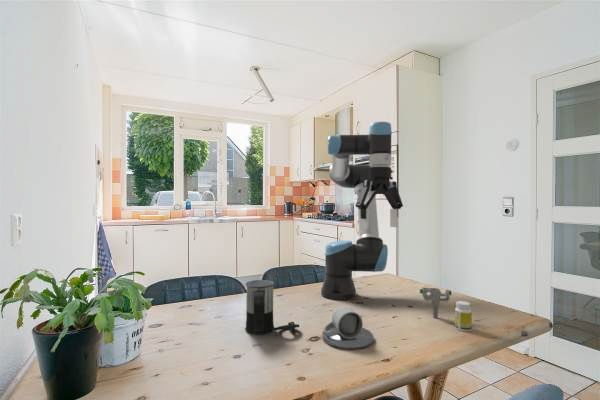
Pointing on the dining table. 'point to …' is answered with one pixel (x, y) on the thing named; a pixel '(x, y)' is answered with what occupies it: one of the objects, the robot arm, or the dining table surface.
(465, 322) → the supplement bottle
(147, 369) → the dining table surface
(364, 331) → the plate
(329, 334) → the ceramic mug
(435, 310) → the mechanical component
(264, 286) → the milk frother
